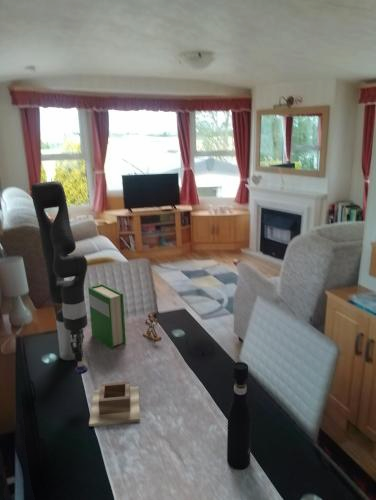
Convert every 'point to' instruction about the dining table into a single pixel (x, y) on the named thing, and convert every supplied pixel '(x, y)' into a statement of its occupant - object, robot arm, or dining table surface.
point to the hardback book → (107, 315)
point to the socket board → (115, 404)
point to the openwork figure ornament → (148, 333)
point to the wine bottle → (239, 421)
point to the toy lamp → (80, 363)
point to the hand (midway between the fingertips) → (79, 359)
